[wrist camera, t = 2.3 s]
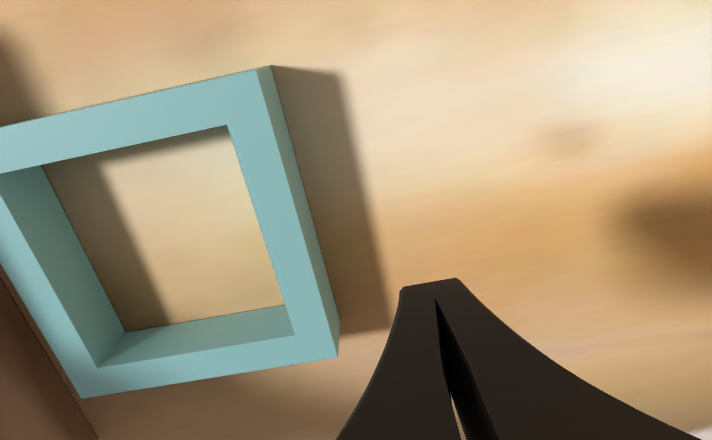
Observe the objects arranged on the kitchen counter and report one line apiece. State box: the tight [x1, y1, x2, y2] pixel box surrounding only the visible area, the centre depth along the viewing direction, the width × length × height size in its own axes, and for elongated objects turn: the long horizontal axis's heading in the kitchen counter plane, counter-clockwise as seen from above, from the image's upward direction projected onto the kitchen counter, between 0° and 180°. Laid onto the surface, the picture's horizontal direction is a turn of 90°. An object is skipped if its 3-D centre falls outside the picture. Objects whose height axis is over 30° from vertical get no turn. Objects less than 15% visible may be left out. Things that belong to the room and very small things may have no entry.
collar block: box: [0, 65, 340, 399], centre depth 18 cm, size 12×12×2 cm
